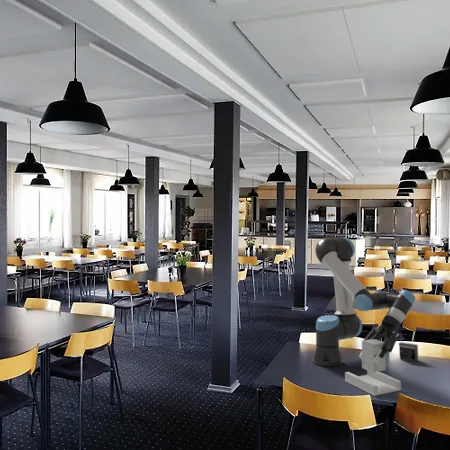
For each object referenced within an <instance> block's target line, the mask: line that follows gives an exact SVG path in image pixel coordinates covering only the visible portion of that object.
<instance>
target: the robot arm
mask: <svg viewBox="0 0 450 450" xmlns="http://www.w3.org/2000/svg"><path fill="white" fill-rule="evenodd" d="M315 245H316V246H315V249H314V250H315V251H314V252H315V256H316V259H317V260H318V262H319V263H320V264H321V265H322V266H324V267H327V269H328V270H329V272H330V273H331V274H332V275H333V284H334V293H335V305H336V310H335V312H334V313H333V314H331V315H329V314H328V315H327V314H326V315H321V316H319V317H318V318H317V319H316V324H315V337H316V338H315V350H314V353H313V355H312V362H313V363H314V364H315V365H318V366H322V367H338V366H342V365H343V356H342V353H341V350H340V341H342V340H347V339H354V338H356V337H358V336H359V335H360V334H361V333H362V331H363V330H362V329H363V322H362V319H360V317H359V316H358V314H357V311H356V310H354V307H355V309H357V310H358V311H360V312H368V311H373V310H378V309H379V310H380V309H389V310H388V311H387V312H386V313H385V316H384V317H383V319H382V320H381V324H380V325H379V326H376V324H375V325H373V326H372V329H371V330H370V331H369V333H367V335H366V336H365V338H364V339H363V340H362V341H364V340H370V339H376V340H379V339H382V338H383V342H384V344H383V347H381V348H382V349H383V350H382V349H380V350H379V352H378V353H377V355H376V357H375V358H374V360H373V361H374V363H375V364H376V365H378V363H379V361H380V360H381V358H383V357H384V355H385V356H386V353H390V354H391V353H392V351H393V350H394V347H395V344H396V343H397V339H398V338H399V337H400V336H401V335H400V333H399V331H398V329H400V326H401V324H402V323H403V321H404V319H405V318H406V316H407V314H408V313H409V311H410V310H411V308H412V307H413V306H414V303H415V301H416V296H415V295H414V294H413V293H412V292H411V291H409V290H406V289H402V290H400V291H399V292H398V293H393V292H390V291H385V290H375V292H370V291H369V290H368V288H366V287H365V285H363V283H362V282H361V281H360V280H359V279H358V278H357V277H356V275H354V273H353V272H352V271H351V270H350V264H351V263H352V257H354V254H355V252H356V251H355V250H356V248H355V245H354V243H353V241H352V240H351V239H350V238H348V237H344V236H343V237H342V236H340V237H339V236H338V237H324V238H322V239H320V240H319V241H318V242H317V243H316V244H315ZM353 304H354V306H353ZM358 356H359V358H360V359H361V360H362V351H361V352H360V353H359V355H358Z"/></svg>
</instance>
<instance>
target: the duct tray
mask: <svg viewBox="0 0 450 450" xmlns="http://www.w3.org/2000/svg"><path fill="white" fill-rule="evenodd" d="M344 381H345V382H346V383H348V384H350V385H352V386H354V387H356V388H358V389H360V390H362V391H364V392H366V393H368V394H369V395H372V396H374V397H375V396H379V395H384V394H389V393H393V392H398V391H401V389H402V381H401V380H399V379H397V378H395V377H392V376H390V375H389V374H386V373H383V372H381V371H377V372H374V373H373V372H370V371H368V370H366V374H363V375H359V376H358V375H356V374H354V373H352V372H351V371H350V372H349V371H346V372H344Z"/></svg>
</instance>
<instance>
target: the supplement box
mask: <svg viewBox="0 0 450 450" xmlns="http://www.w3.org/2000/svg"><path fill="white" fill-rule="evenodd" d="M363 340H364V339H363ZM363 340H361V352H362V359H361V368H362V369H364V370H366V371H367V370H368V371H370V372H373V373H374V372H377V371H379V372H381V371H386V354H385V355H384V357H383V358H381V360H380V361H379V363H378V365H376V364H375V363H374V361H373V360H374V358H375V357H376V355H377V353H378V352H379V350H380V349H382V348H381V347H383V344H384V340H383V341H382V340H379V339H378V340H376V339H370V340H364V341H363ZM382 350H383V349H382Z"/></svg>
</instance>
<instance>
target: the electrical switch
mask: <svg viewBox="0 0 450 450" xmlns="http://www.w3.org/2000/svg"><path fill="white" fill-rule="evenodd" d="M398 347H399V349H398V350H399V351H398V352H399V358H400V359H399V360H401V361H408V362H412V363H413V362H414V363H416V362H417V361H419V345H418V344H416V343H409V342H402V341H400V342H399V343H398Z"/></svg>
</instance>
